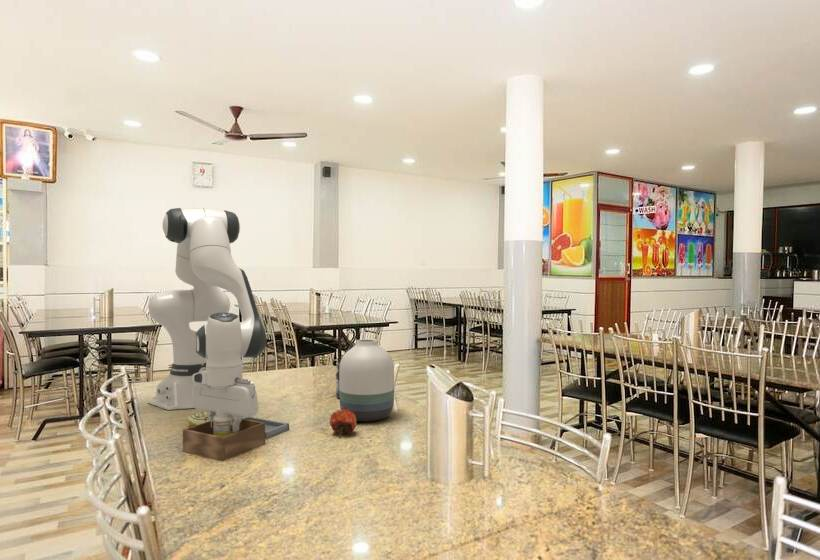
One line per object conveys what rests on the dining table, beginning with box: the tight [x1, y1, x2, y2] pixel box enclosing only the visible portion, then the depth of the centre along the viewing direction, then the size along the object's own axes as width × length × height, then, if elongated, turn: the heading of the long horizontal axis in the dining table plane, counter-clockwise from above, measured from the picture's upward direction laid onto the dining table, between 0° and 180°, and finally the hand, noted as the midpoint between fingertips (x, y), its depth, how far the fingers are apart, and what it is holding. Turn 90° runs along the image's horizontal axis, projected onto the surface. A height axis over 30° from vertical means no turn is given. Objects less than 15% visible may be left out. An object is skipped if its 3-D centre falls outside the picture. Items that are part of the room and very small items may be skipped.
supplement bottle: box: [213, 410, 236, 437], centre depth 134 cm, size 6×6×10 cm
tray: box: [243, 416, 290, 440], centre depth 148 cm, size 16×10×2 cm, turn 62°
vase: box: [339, 338, 395, 422], centre depth 161 cm, size 17×17×24 cm
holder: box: [182, 419, 266, 462], centre depth 134 cm, size 14×14×6 cm
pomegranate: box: [329, 408, 357, 440], centre depth 144 cm, size 7×7×10 cm
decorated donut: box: [187, 410, 217, 428], centre depth 152 cm, size 10×11×4 cm
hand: (224, 429), depth 134 cm, fingers closed on supplement bottle, 5 cm apart
